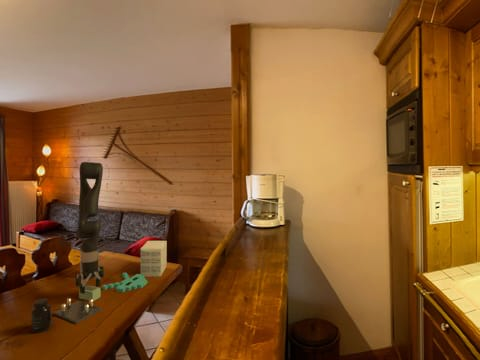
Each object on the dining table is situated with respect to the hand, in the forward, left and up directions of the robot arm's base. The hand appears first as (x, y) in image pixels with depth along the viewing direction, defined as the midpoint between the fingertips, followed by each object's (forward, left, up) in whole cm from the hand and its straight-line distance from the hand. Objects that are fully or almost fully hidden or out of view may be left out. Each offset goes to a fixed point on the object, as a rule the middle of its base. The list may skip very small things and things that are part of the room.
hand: (90, 289), depth 139 cm
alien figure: (+4, +21, -5) cm, 22 cm away
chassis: (+7, -12, -4) cm, 15 cm away
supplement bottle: (+5, -26, -5) cm, 27 cm away
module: (-1, 0, -5) cm, 4 cm away
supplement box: (+4, +42, -5) cm, 42 cm away
